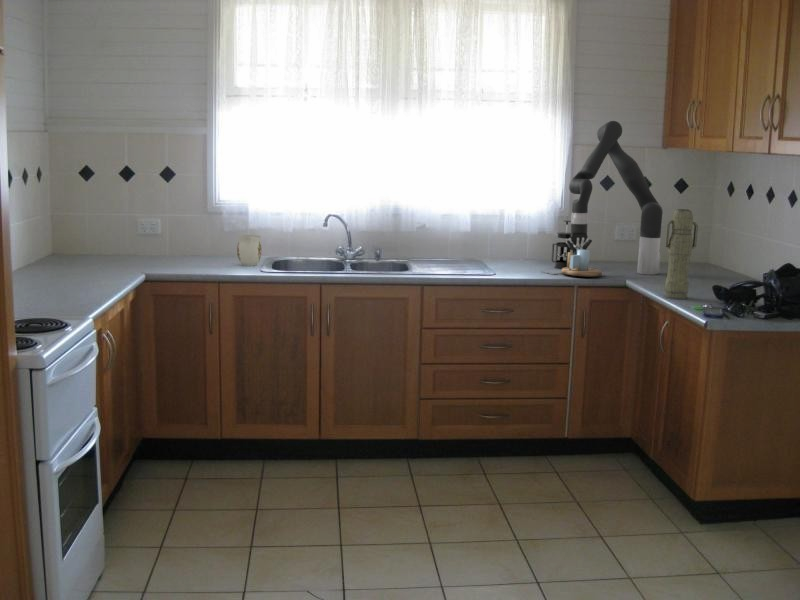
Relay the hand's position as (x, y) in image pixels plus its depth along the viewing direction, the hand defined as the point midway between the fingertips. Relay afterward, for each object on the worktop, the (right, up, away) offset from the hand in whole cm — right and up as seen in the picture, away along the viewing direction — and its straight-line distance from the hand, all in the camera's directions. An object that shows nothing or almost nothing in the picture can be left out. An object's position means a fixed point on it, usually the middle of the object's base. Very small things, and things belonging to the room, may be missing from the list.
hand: (577, 259), depth 404 cm
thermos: (+28, -18, -56) cm, 65 cm away
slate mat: (-10, -6, 0) cm, 12 cm away
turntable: (0, -6, -6) cm, 9 cm away
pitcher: (-151, -3, -5) cm, 152 cm away
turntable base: (0, -7, -6) cm, 10 cm away
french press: (-4, -3, +16) cm, 17 cm away
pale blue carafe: (-1, -5, -8) cm, 9 cm away
